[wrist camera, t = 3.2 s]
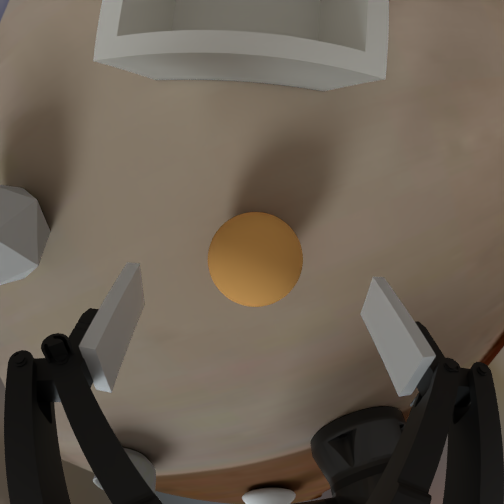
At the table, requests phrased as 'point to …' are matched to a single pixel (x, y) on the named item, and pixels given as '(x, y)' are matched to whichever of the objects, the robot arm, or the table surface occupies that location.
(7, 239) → the die
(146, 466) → the teacup
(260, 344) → the table surface
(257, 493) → the flower in vase
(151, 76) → the white open box
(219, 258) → the ball
